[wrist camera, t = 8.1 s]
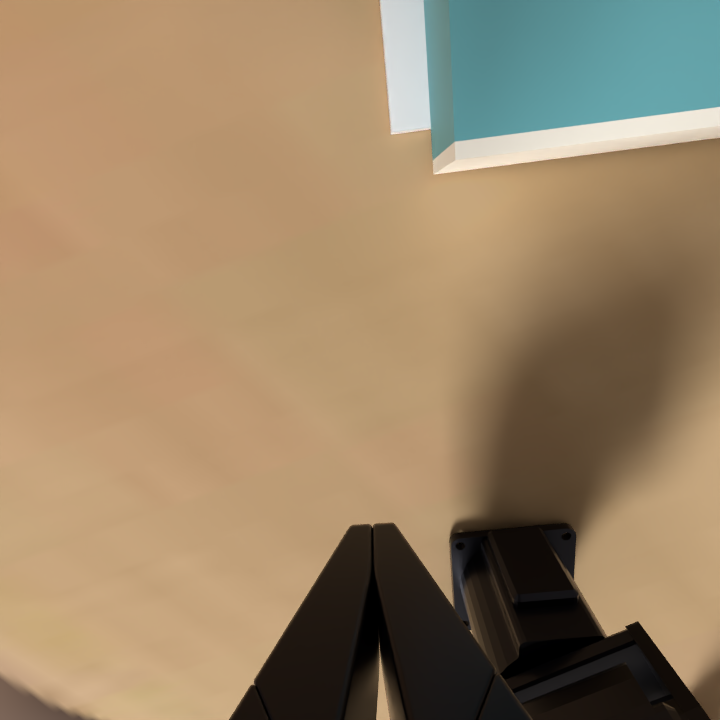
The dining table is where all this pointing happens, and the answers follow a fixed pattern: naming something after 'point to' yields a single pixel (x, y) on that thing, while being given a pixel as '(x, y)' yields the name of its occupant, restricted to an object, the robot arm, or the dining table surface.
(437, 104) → the teal block
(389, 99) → the mat
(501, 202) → the dining table surface
